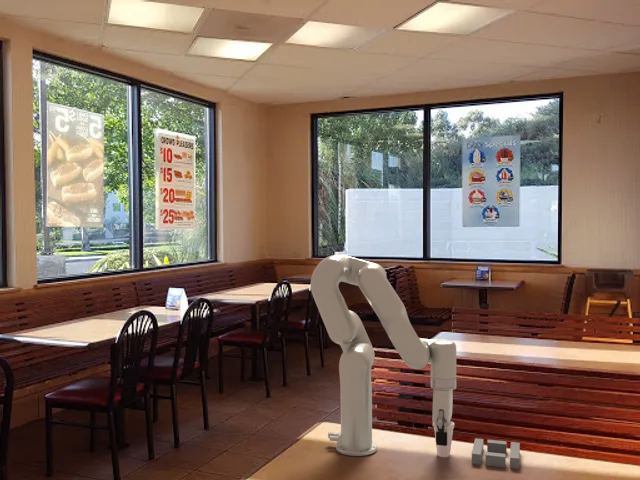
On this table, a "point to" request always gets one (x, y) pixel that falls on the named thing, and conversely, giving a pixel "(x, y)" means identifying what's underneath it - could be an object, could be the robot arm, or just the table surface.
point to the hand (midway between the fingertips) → (443, 439)
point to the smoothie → (445, 450)
